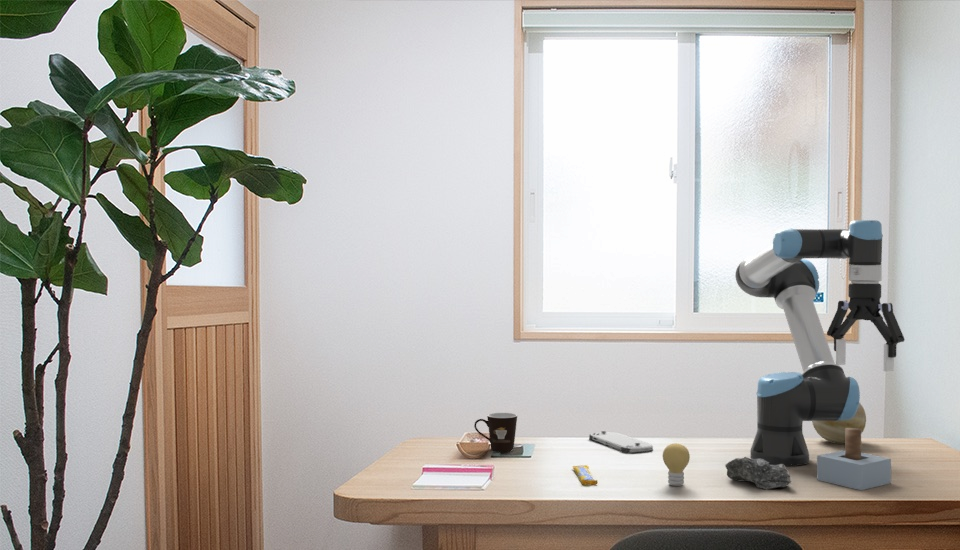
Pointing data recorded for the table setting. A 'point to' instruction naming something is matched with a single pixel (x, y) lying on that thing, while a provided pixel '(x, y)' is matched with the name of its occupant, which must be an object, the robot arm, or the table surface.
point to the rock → (758, 472)
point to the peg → (853, 443)
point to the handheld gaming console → (621, 442)
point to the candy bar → (584, 475)
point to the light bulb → (676, 462)
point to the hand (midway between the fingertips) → (863, 367)
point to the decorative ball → (840, 426)
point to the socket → (854, 470)
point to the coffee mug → (500, 431)
